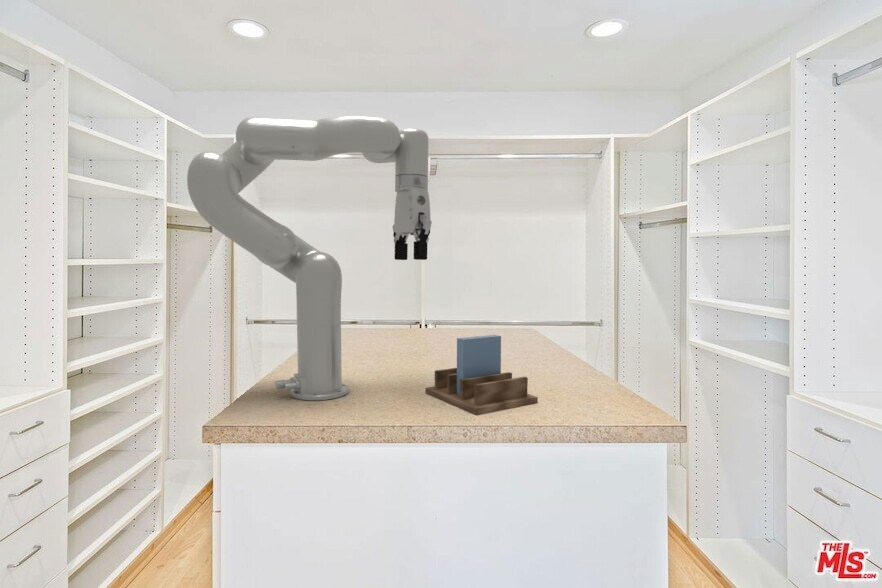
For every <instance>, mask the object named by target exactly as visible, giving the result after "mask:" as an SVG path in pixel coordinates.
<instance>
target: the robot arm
mask: <svg viewBox="0 0 882 588" xmlns="http://www.w3.org/2000/svg"><path fill="white" fill-rule="evenodd" d="M350 153H351V154H352V153H354V154H355V153H357V154H358V153H361V154H362V156H363V158H364V159H366V160H367V161H368V162H371V163H372V164H374V163H375V164H387V163H388V164H389V163H395V165H394V167H395V169H394V170H395V174H394V176H395V177H394V178H395V179H394V184H395V185H394V186H395V187H394V191H395V192H396V196H395V205H394V219H393V221H394V223H393V225H392V232H393V243H394V260H396V261H407V260H408V248H409V247H408V246H409V244H408V243H407V241H408V237H409V235H411V236H413V237H414V239H415V241H413V260H420V261H425V260H426V261H427V259H428V243H429V239H430V237H429V236H430V233H431V227H432V219H431V203H430V195H429V182H428V181H429V178H428V177H429V136H428V133H427V132H426V131H424V130H422V129H419V128H404V129H399V127H398V126H397V125H396V124H395V123H394V122H393V121H391V120H390V119H386V118H383V117H377V116H375V117H373V116H361V115H360V116H359V115H358V116H357V115H347V116H338V117H330V118H329V117H328V118H320V119H319V118H318V119H299V118H285V117H283V118H281V117H280V118H279V117H267V116H266V117H264V116H263V117H261V116H251V117H246V118H244V119H243V120H241V121H240V122H239V124H238V125H237V126H236V130H235V142H234V143H233V144H232V145H231V146H230V147H228V148H227V150H225V151H224V152H222V153H220V152H216V151H210V150H209V151H207V150H206V151H203V152H200V153H198V154H197V155H195V156H193V158H192V160H191V161H190V163H189V166H188V168H187V169H188V170H187V176H186V181H187V182H186V183H187V191H188V195H189V198H190V200H191V203H192V204H193V206H194V208H195V210H196V211H197V212H198V214H199V215H200V216H201V217H202V218H203V220H204V221H206V222H207V224H209V225H210V226H211V227H213V229H215V230H217V232H219V233H220V234H222V235H224V236H225V237H227V238H228V239H229V240H231V241H232V242H234V243H235V244H237V245H238V246H239V247H241V248H243V249H244V250H245V251H247V252H248V253H250V254H251V255H253V256H254V257H256V259H257V260H258V261H260V263H262V264H264V265H266V266H268V267H269V268H271V269H273V270H274V271H276V272H277V273H279V274H281V275H283V277H285V278H287V279H288V280H289V281H292V282H293V283H295V288H296V291H295V293H296V295H295V296H296V332H297V333H296V343H297V346H296V347H297V349H296V350H297V373H293V377H292V376H291V377H290V378H289V379H280V380H275V382H274V384H275V386H274V387H275V390H282V389H284V391H287V390H290V396H291V397H292V398H293V399H297V400H299V401H300V400H301V401H328V400H334V399H339V398H341V397H344V396H346V395H347V394H349V390H350V388H349V386H348V385H347V384H345V383H342V373H343V371H342V370H343V369H342V289H343V288H342V287H343V284H342V282H343V276H342V270H341V266H340V264H339V263H338V261H337V260H336V258H335V257H334V256H332V255H331V254H329V253H327V252H323V251H320V250H319V249H317V248H315V247H314V246H312V245H311V244H310V243H308V242H307V241H305V240H304V239H302V238H301V237H299V236H298V235H296V233H294V231H292V230H291V228H289V227H287V226H285V225H284V224H281V223H280V222H277V221H276V220H275V219H273V218H271V217H270V216H269V215H267V214H266V213H264V212H262V211H261V210H260V209H258V208H257V207H255V206H254V205H253V204H251V203H250V202H249V201H247V200H246V199H244V198H243V197H242V196H241V195H240V193H241V192H242V191H243V190H244V189H245V188H247V186H249V185H250V184H251V183H252V182H253V181H254V180H255V179H256V178H258V177H259V176H260V175H261V174H262V173H263V172H264V171H266V169H267V168H268V167H269V166H271V164H273V162H274V161H276V160H277V161H279V160H281V161H282V160H284V161H285V160H287V161H303V162H304V161H305V162H306V161H308V162H316V161H322V160H324V159H327V158H331V157H332V156H335V155H341V154H350Z"/></svg>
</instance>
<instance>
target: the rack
mask: <svg viewBox="0 0 882 588" xmlns="http://www.w3.org/2000/svg"><path fill="white" fill-rule="evenodd" d="M528 379H529V378H528V377H527V376H521V377H520V376H519V377H513V373H512V372H509V371H508V372H501V373H500V374H494V375H487V376H480V377H473V378H466V379H460V395H458V394H457V367H452V368H444V369H436V370H434V386H429V387H427V386H426V387H425V388H424V389H425V394H427V395H429V396H431V397H434V398H436V399H438V400H441V401H443V402H445V403H448V404H449V405H452V406H454V407H456V408H459V409H461V410H463V411H465V412H467V413H470V414H472V415H475V416H478V415H482V414H488V413H492V412H498V411H503V410H507V409H512V408H518V407H522V406H523V407H524V406H528V405H533V404H538V402H539V401H538V399H539V397H538V396H536V395H532V394H529V393H528V381H529V380H528Z"/></svg>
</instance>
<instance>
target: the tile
mask: <svg viewBox="0 0 882 588" xmlns="http://www.w3.org/2000/svg"><path fill="white" fill-rule="evenodd" d="M456 368H457V394H458V395H460V379H466V378H473V377H480V376H487V375H494V374H500V373H502V335H497V334H488V335H487V334H486V335H480V336H479V335H477V336H476V335H475V336H467V337H465V336H464V337H457V338H456Z"/></svg>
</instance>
